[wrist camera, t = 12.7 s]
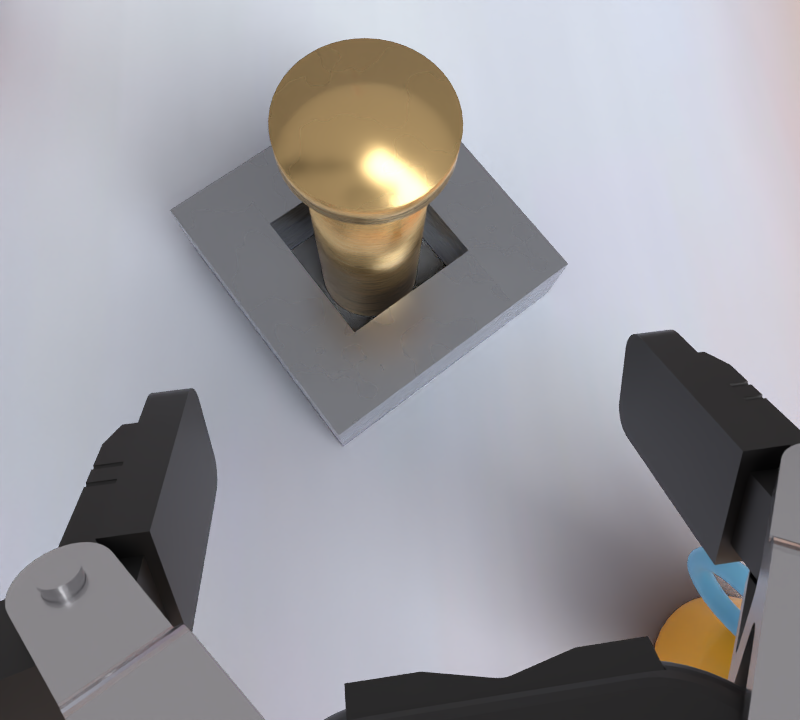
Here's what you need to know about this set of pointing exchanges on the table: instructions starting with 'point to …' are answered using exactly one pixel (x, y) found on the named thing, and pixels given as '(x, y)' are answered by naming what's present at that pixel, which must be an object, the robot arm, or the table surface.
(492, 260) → the jig
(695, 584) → the tube with loops
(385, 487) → the table surface
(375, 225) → the gold capped peg
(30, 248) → the table surface
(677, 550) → the table surface
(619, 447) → the table surface
